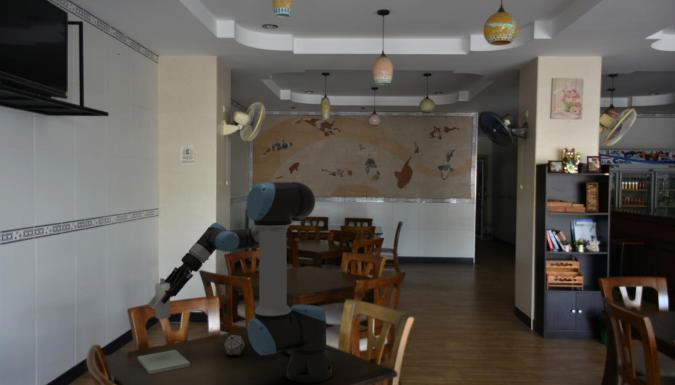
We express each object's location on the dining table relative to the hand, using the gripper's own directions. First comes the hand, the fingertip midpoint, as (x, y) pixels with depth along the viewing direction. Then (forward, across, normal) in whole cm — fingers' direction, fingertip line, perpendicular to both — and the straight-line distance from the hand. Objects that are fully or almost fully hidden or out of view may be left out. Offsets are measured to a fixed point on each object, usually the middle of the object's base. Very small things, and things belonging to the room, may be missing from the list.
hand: (152, 308), depth 188 cm
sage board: (+12, -1, -16) cm, 21 cm away
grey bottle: (0, 0, -5) cm, 5 cm away
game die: (-5, -10, -34) cm, 35 cm away
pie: (-20, -22, -49) cm, 57 cm away
